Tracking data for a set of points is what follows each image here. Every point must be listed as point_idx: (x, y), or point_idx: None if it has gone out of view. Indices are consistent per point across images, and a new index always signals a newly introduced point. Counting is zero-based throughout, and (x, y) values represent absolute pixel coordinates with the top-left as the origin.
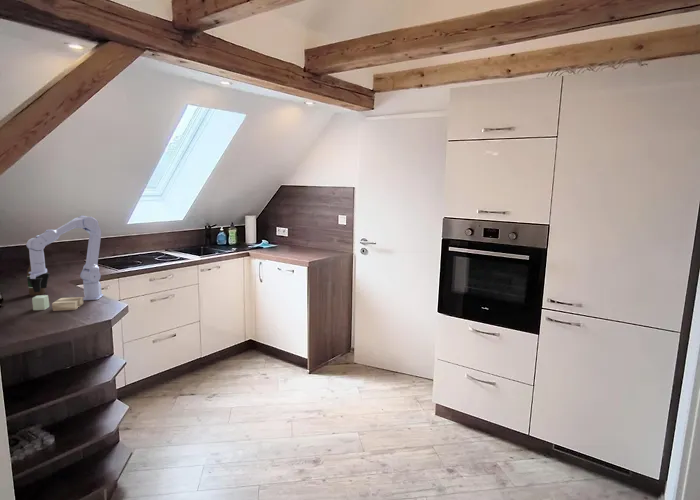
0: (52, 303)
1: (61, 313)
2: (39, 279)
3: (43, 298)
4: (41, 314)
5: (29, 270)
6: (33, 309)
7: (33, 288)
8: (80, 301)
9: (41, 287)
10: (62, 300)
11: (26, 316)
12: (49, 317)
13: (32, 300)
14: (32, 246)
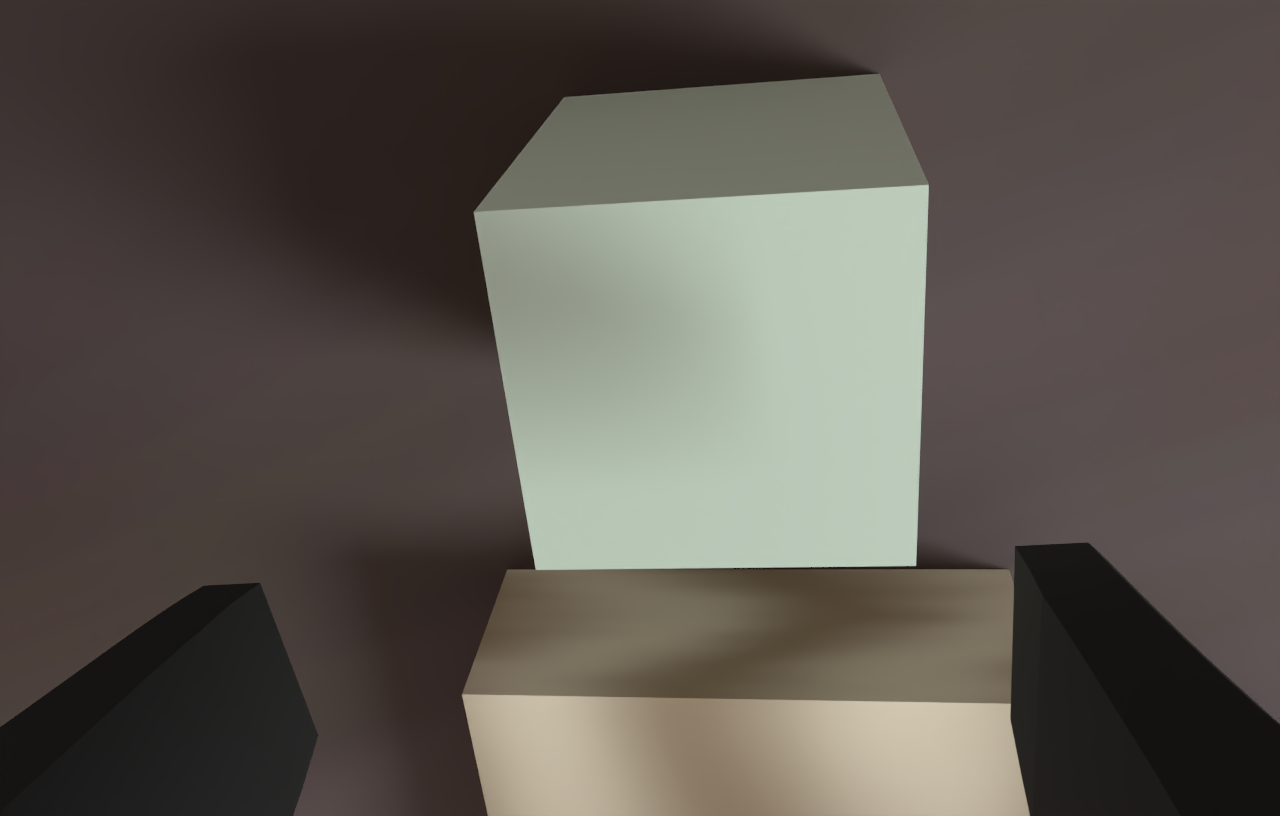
0: (466, 699)
1: (321, 768)
2: None
3: (542, 551)
4: (221, 469)
5: None
6: (560, 109)
7: (40, 721)
8: None
9: (1022, 588)
10: (734, 810)
11: (34, 222)
12: (69, 676)
13: (500, 192)
14: None
